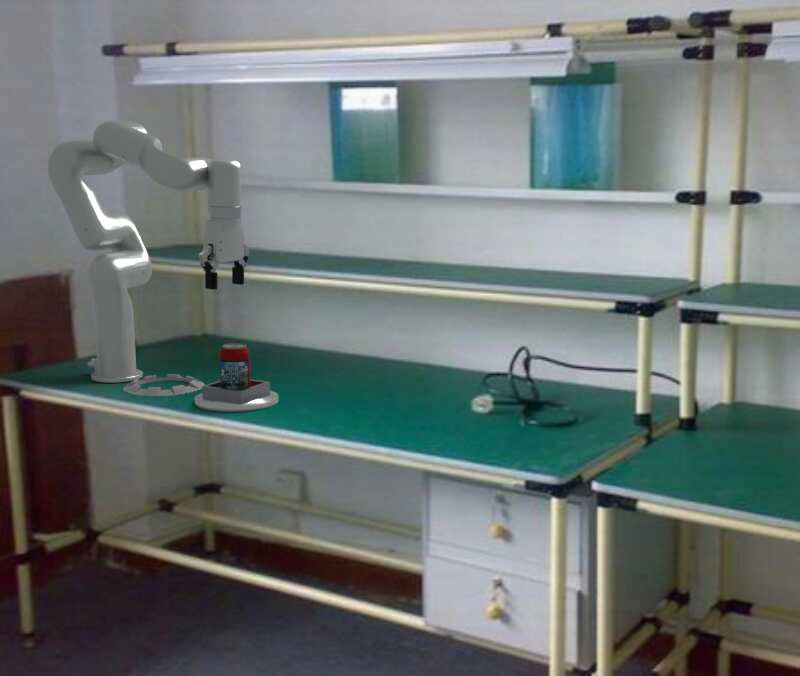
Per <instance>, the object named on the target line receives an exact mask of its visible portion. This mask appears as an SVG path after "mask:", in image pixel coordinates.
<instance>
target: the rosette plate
mask: <svg viewBox="0 0 800 676" xmlns="http://www.w3.org/2000/svg"><path fill="white" fill-rule="evenodd" d="M278 402H279V394H278V393H277V392H275V391H274V390H271V381H266V380H256V379H251V378H250V387H249V388H246V389H243V390H233V389H226V388H221V380H218V381H214V382H211V383H208V384H205V385H204V386H202V389H201V392H200V393H199V394H196V396H194V405H195V407H197V408H198V409H201V410H204V411H210V412H217V413H242V412H243V413H244V412H252V411H253V412H254V411H261V410H264V409H268V408H271V407H273V405H274V406H276V405H277V404H278Z"/></svg>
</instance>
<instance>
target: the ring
mask: <svg viewBox="0 0 800 676" xmlns="http://www.w3.org/2000/svg"><path fill="white" fill-rule="evenodd" d="M157 382H182V383H183V382H184V383H188V384H189V385H187V386H185V385H183V384H181V385H174V386H171V388H170V389H162V387H161V386H159V387H155V386H154V387H151V386H149V387H148V388H147V389H146V388H145V389H144V388H142V386H141V385H144V384H149V383H157ZM204 385H206V384H205V383H204V382H203V381H201V380H199V379H197V378H195V377H193V376H189V375H186V376H185V377H183V376H182V375H180V374H166V377H157V374H156V375H155V374H154V375H147V376H144V377H142V378H140V379H136V380H133V381H130V383H127V384H125V385H124V386H123V388H122V390H123V391H124V392H125V393H126V394H130V395H135V396H141V397H142V396H143V397H170V396H179V394H181V395H186V394H185V393H187V394H191V393H195V392H198V391H200V390H202V386H204ZM197 390H198V391H197ZM194 391H195V392H194ZM190 392H191V393H190Z"/></svg>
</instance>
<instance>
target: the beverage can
mask: <svg viewBox="0 0 800 676" xmlns="http://www.w3.org/2000/svg"><path fill="white" fill-rule="evenodd" d="M250 355H251V354H250V350H249V348H248V347H247V344H245V343H241V342H237V343H236V342H234V343H233V342H232V343H225V344H222V348H221V349H220V352H219V367H220V368H219V370H220V371H219V372H220V381H221V388H226V389H233V390H243V389H246V388H249V387H250V379H251V361H250V360H251V358H250V357H251V356H250Z"/></svg>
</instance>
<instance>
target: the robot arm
mask: <svg viewBox="0 0 800 676" xmlns="http://www.w3.org/2000/svg"><path fill="white" fill-rule="evenodd" d="M124 165H129V166H132V167H133V168H135V169H138V170H141V172H142V173H143V174H144V175H145V176H146V177H147V178H148V179H149V180H150V181H152V182H154V183H157V184H158V185H162V186H164V187H166V188H168V189H171V190H173V191H178V192H190V191H203V190H208V191H207V193H208V198H207V199H208V219H207V220H206V222H205V225H204V233H203V243H202V244H203V246H202V251H201V252H200V253H198V255H197V256H198V260H199V263H200V266H201V268H202V270H203V272H204V279H205V280H204V281H205V282H204V287H205V289H209V290H214V291H215V290H218V272H216V271H217V268H218V267H219V265H220V264H227V263H232V265H233V266H232V268H231V279H232V280H231V281H232V282H231V283H232V284H234V285H240V286H243V285H245V268H246V267H247V262H248V261H249V254H250V252H251V248H250V247H249V246H248V245H246V244H245V238H244V236H245V235H244V226H243V221H242V166H241V163H240V162H239V161H238V160H234V159H233V160H232V159H214V158H209V157H182V158H181V157H179V156H175V155H172V154H170V153H167V152H164V151H163V145H162V142H161V140H160V139H159V138H158V137H156V136H154V135H151V134H148V131H147V129H146V128H145V126H143V125H142V124H141V123H139V122H137V121H134V120H108V121H104V122H102V123H100V124H98V126H97V127H96V128H95V130H94V131H93V135H92V140H69V141H65V142H64V141H63V142H62V143H60V144H57V145H56V147H54V148H53V149H52V150H51V153H50V155H49V157H48V162H47V173H48V178H49V181H50V184H51V186H52V188H53V190H54V191H55V193H56V195H57V197H58V198H59V200H60V202H61V204H62V206H63V207H64V210H65V213H66V216H67V218H68V220H69V222H70V224H71V226H72V229H73V231H74V233H75V235H76V238H77V241H78V242H79V243H80V245H81V247H82V248H83V249H85V250H86V251H90V252H99V251H107V250H110V251H111V252H105V253H102V254H99V255H97V256H95V257H94V258H93V259H92V261H90V263H89V264H88V270H87V277H88V282H89V286H90V291H91V295H92V303H93V315H94V326H95V327H94V329H95V347H96V349H95V350H96V358H91V359H90V361H88V362H87V367H88V368H94V372H92V373H91V374H90V376H91V378H90V379H91V380H92V381H94V382H97V383H98V382H99V383H127V382H133V381H134V380H136V379H139V380H141V379H142V378H143V376H144V372H143V371H142V370H141V369H137V357H136V353H137V352H136V335H135V334H136V333H135V314H134V305H133V301H132V299H131V297H130V294H129V291H128V289H130V288H131V289H132V288H136V287H140V286H143V285H145V284H147V283H148V282H149V281H150V279H151V277H152V275H153V266H152V260H151V258H150V255H149V253H148V251H147V248H146V247H145V243H144V242H143V240H142V237H141V234H140V233H139V230H138V229H137V226H136V224H135V223H134V221H133V220H132V219H131V217H130V216H129V215H128V214H126V213H125V212H123V211H121V210H120V211H118V210H107V211H106V210H105V209H104V208H103V206H102V203H101V202H100V199H99V198H98V195H97V193H96V192H95V190H94V189H93V187H92V186H91V185H90V184H89V183H88V182H87V181H86V180H85V179H84V178H83V176H96V175H97V176H98V175H105V174H109V173H111V172H113V171H116V170H117V169H119V168H121V167H122V166H124Z"/></svg>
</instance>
